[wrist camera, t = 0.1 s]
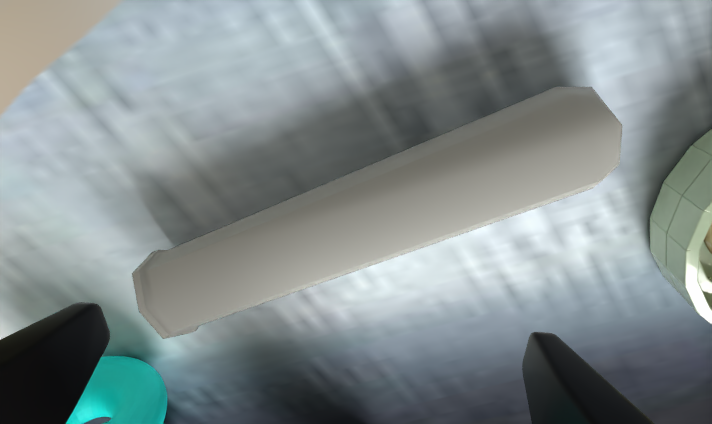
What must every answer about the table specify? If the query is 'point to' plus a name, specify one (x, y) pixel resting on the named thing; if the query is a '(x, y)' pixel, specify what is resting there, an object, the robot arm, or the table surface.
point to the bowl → (686, 227)
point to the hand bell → (709, 239)
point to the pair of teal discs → (122, 393)
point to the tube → (387, 209)
